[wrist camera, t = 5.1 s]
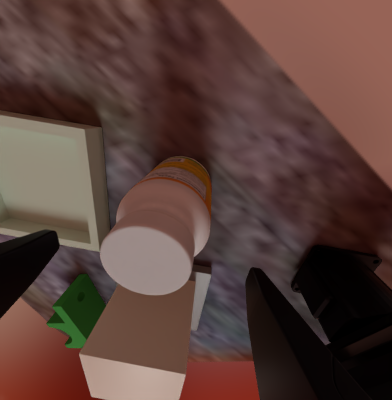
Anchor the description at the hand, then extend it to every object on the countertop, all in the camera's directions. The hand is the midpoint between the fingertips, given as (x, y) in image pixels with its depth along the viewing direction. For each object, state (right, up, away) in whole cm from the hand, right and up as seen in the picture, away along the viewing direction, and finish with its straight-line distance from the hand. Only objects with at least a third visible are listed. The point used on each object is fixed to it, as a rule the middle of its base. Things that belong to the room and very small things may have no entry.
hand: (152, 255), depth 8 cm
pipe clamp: (-13, -12, +18) cm, 25 cm away
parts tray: (-12, +4, +9) cm, 16 cm away
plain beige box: (-2, -9, +15) cm, 17 cm away
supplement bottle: (+1, +4, +8) cm, 9 cm away
